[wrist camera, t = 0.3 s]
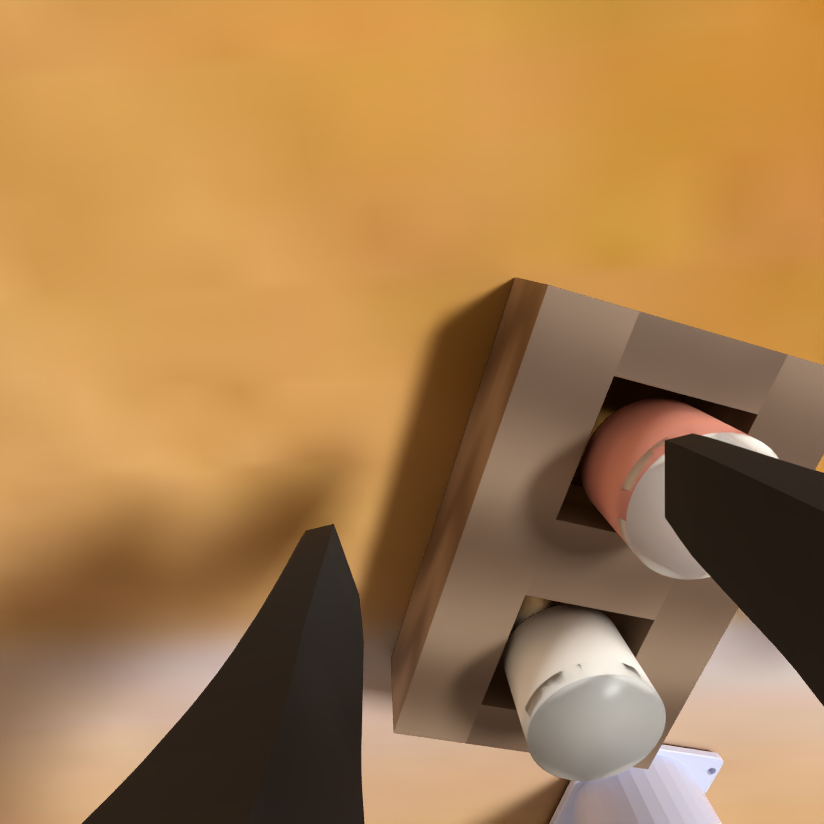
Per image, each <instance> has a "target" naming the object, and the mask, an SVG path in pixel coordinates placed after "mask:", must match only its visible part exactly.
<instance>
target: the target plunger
mask: <svg viewBox="0 0 824 824" xmlns="http://www.w3.org/2000/svg"><path fill="white" fill-rule="evenodd" d="M692 433H693V434H698V435H702V436H706V437H709V438H713V439H716V440H720V441H723V442H726V443H730V444H733V445H736V446H739V447H742V448H745V449H749V450H752V451H755V452H758V453H761V454H764V455H767V456H770V457H774V458H777V459H779V458H778V457H777V455H776V454H775V453H774V452H773V451H772V450H771V449H770V448H769V447H768V446H767V445H765V444H764V443H763V442H761V441H759V440H757V439H755V438H753V437H751V436H749V435H747V434H745V433H743V432H741V431H739V430H737V429H735V428H733V427H732V426H730V425H728V424H726V423H724V422H722V421H720V420H718V419H716V418H714V417H712V416H710V415H708V414H706V413H704V412H702V411H700V410H698V409H696V408H694V407H692V406H690V405H688V404H686V403H684V402H681V401H679V400H676V399H670V398H660V397H658V398H648V399H643V400H639V401H636V402H633V403H630V404H628V405H626V406H624V407H622V408H620V409H619V410H617V411H615V412H614V413H613V414H611V415H610V416H609V417H608V418H606V419H605V420H604V421H603V422H602V423H601V424H600V426H599V427H598V428H597V429H596V430H595V432H594V433H593V435H592V436H591V438H590V440H589V442H588V444H587V446H586V448H585V451H584V454H583V458H582V464H581V478H582V483H583V487H584V490H585V492H586V495H587V496H588V498H589V500H590V501H591V502H592V503H593V505H594V506H595V507H596V508H597V509H598V511H599V512H600V513H601V514H602V515H603V517H604V518H605V519H606V520H607V521H608V522H609V524H610V525H611V526H612V527H613V528H614V530H615V531H616V532H617V533H618V534H619V536H620V537H621V538H622V539H623V540H624V541H625V543H626V544H627V545H628V546H629V547H630V549H631V550H632V551H633V552H634V553H635V555H636V556H637V557H638V558H639V559H640V560H641V562H642V563H644V564H645V565H646V566H647V567H648V568H650V569H652V570H653V571H655V572H657V573H659V574H661V575H664V576H667V577H671V578H676V579H688V580H693V579H703V578H707V577H710V576H709V574H708V573H707V572H706V571H705V570H704V569H703V568H702V567H701V566H700V565H699V563H698V562H697V561H696V560H695V559H694V558H693V557H692V555H691V554H690V553H689V551H688V550H687V549H686V547H685V546H684V544H683V543H682V542H681V540H680V539H679V538H678V536H677V535H676V533H675V532H674V530H673V529H672V527H671V526H670V524H669V523H668V521H667V520H666V518H665V440H668V439H672V438H676V437H680V436H684V435H688V434H692Z"/></svg>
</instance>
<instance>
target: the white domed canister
mask: <svg viewBox="0 0 824 824" xmlns="http://www.w3.org/2000/svg"><path fill="white" fill-rule="evenodd" d="M503 665H504V670H505V673H506V676H507V680H508V683H509V686H510V690H511V693H512V696H513V699H514V703H515V706H516V709H517V713H518V716H519V719H520V722H521V726H522V729H523V732H524V736H525V739H526V742H527V745H528V749H529V751H530V754H531V756H532V758H533V759H534V761H535V762H536V763H537V764H538V765H539V766H540V767H541V768H542V769H543V770H545V771H546V772H548V773H550V774H552V775H554V776H556V777H559V778H563V779H567V780H573V781H592V780H599V779H604V778H608V777H611V776H614V775H617V774H619V773H622V772H624V771H626V770H628V769H630V768H631V767H633V766H634V765H636V764H638V763H639V762H640V761H641V760H643V759H644V758H645V757H646V756H647V755H648V754H649V753H650V752H651V751H652V750H653V749H654V747H655V746H656V745H657V743H658V741H659V740H660V738H661V736H662V733H663V730H664V727H665V721H666V712H665V707H664V704H663V702H662V700H661V698H660V696H659V695H658V693H657V692H656V690H655V688H654V687H653V685H652V684H651V682H650V680H649V679H648V677H647V676H646V674H645V673H644V671H643V669H642V668H641V666H640V665H639V663H638V661H637V660H636V658H635V657H634V655H633V654H632V652H631V650H630V649H629V647H628V646H627V644H626V642H625V641H624V639H623V638H622V636H621V634H620V633H619V631H618V630H617V628H616V627H615V625H614V624H613V622H612V621H611V620H610V619H609V618H608V617H607V616H606V615H605V614H603V613H602V612H600V611H598V610H596V609H594V608H589V607H584V606H579V605H573V604H567V605H559V606H554V607H550V608H547V609H544V610H542V611H539V612H537V613H535V614H534V615H532V616H530V617H529V618H527V619H526V620H525V621H523V622H522V623H521V624H520V625H519V626H518V627H517V628H516V629H515V630H514V632H513V633H512V635H511V636H510V638H509V639H508V641H507V644H506V646H505V649H504V655H503Z"/></svg>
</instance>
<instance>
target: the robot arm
mask: <svg viewBox="0 0 824 824" xmlns="http://www.w3.org/2000/svg"><path fill="white" fill-rule="evenodd" d="M665 518H666V520H667V521H668V523H669V524H670V526H671V527H672V529H673V530H674V532H675V533H676V535H677V536H678V538H679V539H680V540H681V542H682V543H683V544H684V546H685V547H686V549H687V550H688V551H689V553H690V554H691V555H692V557H693V558H694V559H695V560H696V561H697V562H698V563H699V565H700V566H701V567H702V568H703V569H704V570H705V571H706V572H707V573H708V574H709V576H710V577H711V578H712V579H713V580H714V581H715V582H716V583H717V584H718V585H719V586H720V588H721V589H722V590H723V591H724V592H725V593H726V594H727V595H728V596H729V597H730V598H731V599H732V600H733V602H734V603H735V604H736V605H737V606H738V607H739V608H740V609H741V610H742V611H743V612H744V613H745V614H746V615H747V617H748V618H749V619H750V620H751V621H752V622H753V623H754V624H755V625H756V626H757V627H758V628H759V629H760V630H761V632H762V633H763V634H764V635H765V636H766V637H767V638H768V639H769V640H770V641H771V642H772V643H773V644H774V645H775V647H776V648H777V649H778V650H779V651H780V652H781V654H782V655H783V656H784V657H785V658H786V659H787V660H788V662H789V663H790V664H791V665H792V666H793V667H794V669H795V670H796V671H797V672H798V674H799V675H800V676H801V678H802V679H803V680H804V681H805V683H806V684H807V685H808V687H809V688H810V689H811V690H812V692H813V693H814V694H815V696H816V697H817V698H818V699H819V701H820V702H821V703H822V705H823V706H824V473H822V472H819V471H815V470H812V469H809V468H806V467H802V466H799V465H796V464H793V463H789V462H786V461H783V460H780V459H777V458H774V457H770V456H767V455H764V454H761V453H758V452H755V451H752V450H749V449H745V448H742V447H739V446H736V445H733V444H730V443H726V442H723V441H720V440H716V439H713V438H709V437H706V436H702V435H698V434H693V433H692V434H688V435H684V436H680V437H676V438H672V439H668V440H665ZM363 642H364V641H363V629H362V618H361V609H360V599H359V593H358V591H357V588H356V585H355V582H354V579H353V577H352V574H351V571H350V568H349V565H348V563H347V560H346V557H345V554H344V551H343V548H342V546H341V543H340V540H339V537H338V534H337V532H336V529H335V526H334V524H331V525H327V526H323V527H319V528H315V529H312V530H308V531H305V533H304V534H303V536H302V538H301V539H300V541H299V543H298V545H297V546H296V548H295V550H294V552H293V554H292V556H291V557H290V559H289V561H288V563H287V565H286V566H285V568H284V570H283V572H282V574H281V575H280V577H279V579H278V581H277V582H276V584H275V586H274V587H273V589H272V591H271V592H270V594H269V596H268V598H267V599H266V601H265V603H264V604H263V606H262V608H261V609H260V611H259V613H258V614H257V616H256V617H255V619H254V620H253V622H252V623H251V625H250V626H249V628H248V629H247V631H246V632H245V634H244V636H243V637H242V639H241V640H240V642H239V643H238V645H237V646H236V648H235V649H234V651H233V652H232V654H231V655H230V656H229V658H228V659H227V661H226V662H225V663H224V665H223V666H222V668H221V669H220V670H219V672H218V673H217V674H216V676H215V677H214V678H213V679H212V681H211V682H210V683H209V684H208V686H207V687H206V688H205V690H204V691H203V692H202V693H201V695H200V696H199V697H198V698H197V700H196V701H195V702H194V703H193V705H192V706H191V707H190V708H189V709H188V711H187V712H186V713H185V714H184V715H183V716H182V718H181V719H180V720H179V721H178V722H177V723H176V724H175V725H174V727H173V728H172V729H171V730H170V731H169V732H168V733H167V735H166V736H165V737H164V738H163V739H162V740H161V741H160V742H159V744H158V745H157V746H156V747H155V748H154V749H153V750H152V752H151V753H150V754H149V755H148V756H147V757H146V758H145V759H144V761H143V762H142V763H141V764H140V765H139V766H138V767H137V768H136V769H135V770H134V771H133V772H132V773H131V774H130V775H129V776H128V777H127V779H126V780H125V781H124V782H123V783H122V784H121V785H120V786H119V787H118V788H117V789H116V790H115V791H114V792H113V793H112V794H111V795H110V796H109V797H108V798H107V799H106V800H105V801H104V802H103V803H102V804H101V805H100V806H99V807H98V808H97V809H96V810H95V811H94V812H93V813H92V814H91V815H90V816H89V817H88V818H87V819H86V820H85V821H84V822H83V823H82V824H364V811H363V796H362V777H361V739H362V696H363ZM722 765H723V760H722V758H721V757H720V755H719V754H718V753H715V752H709V751H702V750H696V749H689V748H682V747H676V746H669V745H663V744H662V745H661V747H660V749H659V751H658V752H657V754H656V756H655V758H654V760H653V761H652V763H651V765H650V767H649V769H642V768H635V767H631V768H630V769H628V770H626V771H624V772H622V773H619V774H617V775H614V776H611V777H608V778H604V779H599V780H592V781H573V780H571V781H570V783H569V785H568V787H567V789H566V791H565V793H564V795H563V797H562V799H561V801H560V803H559V805H558V807H557V809H556V811H555V813H554V815H553V817H552V819H551V821H550V823H549V824H722V823H721V821H720V819H719V818H718V816H717V814H716V813H715V811H714V809H713V808H712V806H711V804H710V803H709V801H708V799H707V798H706V796H705V793H706V791H707V790H708V788H709V787H710V785H711V783H712V782H713V780H714V778H715V777H716V775H717V774H718V772H719V770H720V769H721V767H722Z"/></svg>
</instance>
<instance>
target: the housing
mask: <svg viewBox="0 0 824 824" xmlns="http://www.w3.org/2000/svg"><path fill="white" fill-rule="evenodd" d="M614 376H616V377H620V378H624V379H628V380H631V381H635V382H639V383H643V384H646V385H650V386H654V387H657V388H661V389H665V390H669V391H672V392H676V393H680V394H683V395H685V397H684V400H683V402H684V403H686V404H688V405H690V406H692V407H694V408H696V409H698V410H700V411H702V412H704V413H706V414H708V415H710V416H712V417H714V418H716V419H718V420H720V421H722V422H724V423H726V424H728V425H730V426H732V427H733V428H735V429H737V430H739V431H741V432H743V433H745V434H747V435H749V436H751V437H753V438H755V439H757V440H759V441H761V442H763V443H764V444H765V445H767V446H768V447H769V448H770V449H771V450H772V451H773V452H774V453H775V454H776V455H777V457H778V458H779V459H780V460H783V461H786V462H789V463H793V464H796V465H799V466H802V467H806V468H809V469H812V470H815V469H816V467H817V465H818V463H819V462H820V460H821V458H822V456H823V454H824V365H821V364H818V363H814V362H811V361H807V360H804V359H801V358H797V357H794V356H790V355H787V354H783V353H780V352H777V351H773V350H770V349H766V348H763V347H760V346H756V345H753V344H749V343H746V342H742V341H739V340H736V339H732V338H729V337H725V336H722V335H718V334H715V333H712V332H708V331H705V330H701V329H698V328H694V327H691V326H688V325H684V324H681V323H677V322H674V321H670V320H667V319H664V318H660V317H657V316H653V315H650V314H646V313H643V312H640V311H636V310H633V309H629V308H626V307H622V306H619V305H616V304H612V303H609V302H605V301H602V300H598V299H595V298H592V297H588V296H585V295H581V294H578V293H574V292H571V291H568V290H564V289H561V288H557V287H554V286H550V285H547V284H542V283H538V282H533V281H529V280H524V279H520V278H515V279H514V282H513V285H512V288H511V291H510V294H509V297H508V300H507V303H506V306H505V309H504V312H503V315H502V319H501V322H500V325H499V328H498V331H497V334H496V337H495V340H494V343H493V346H492V349H491V352H490V355H489V359H488V362H487V365H486V368H485V371H484V374H483V377H482V380H481V383H480V386H479V389H478V392H477V396H476V399H475V402H474V405H473V408H472V411H471V414H470V417H469V420H468V423H467V426H466V429H465V432H464V436H463V439H462V442H461V445H460V448H459V451H458V454H457V457H456V460H455V463H454V466H453V469H452V472H451V476H450V479H449V482H448V485H447V488H446V491H445V494H444V497H443V500H442V503H441V506H440V509H439V513H438V516H437V519H436V522H435V525H434V528H433V531H432V534H431V537H430V540H429V543H428V546H427V549H426V553H425V556H424V559H423V562H422V565H421V568H420V571H419V574H418V577H417V580H416V583H415V586H414V589H413V593H412V596H411V599H410V602H409V605H408V608H407V611H406V614H405V617H404V620H403V623H402V626H401V630H400V633H399V636H398V639H397V642H396V645H395V648H394V651H393V654H392V657H391V674H392V701H393V729H394V733H397V734H404V735H411V736H418V737H425V738H432V739H439V740H446V741H453V742H460V743H467V744H474V745H481V746H488V747H495V748H502V749H509V750H516V751H523V752H530V751H529V749H528V745H527V742H526V739H525V736H524V732H523V729H522V726H521V722H520V719H519V716H518V713H517V709H516V706H515V703H514V699H513V696H512V693H511V690H510V686H509V683H508V680H507V676H506V673H505V670H504V665H503V655H504V649H505V646H506V644H507V639H508V637H509V634H510V632H511V630H512V627H513V625H514V622H515V620H516V617H517V615H518V612H519V610H520V607H521V605H522V602H523V600H524V597H525V595H527V596H532V597H537V598H542V599H547V600H553V601H558V602H563V603H568V604H573V605H579V606H584V607H589V608H594V609H596V610H598V611H600V612H602V613H603V614H605V615H606V616H607V617H608V618H609V619H610V620H611V621H612V622H613V624H614V625H615V627H616V628H617V630H618V631H619V633H620V634H621V636H622V638H623V639H624V641H625V642H626V644H627V646H628V647H629V649H630V650H631V652H632V654H633V655H634V657H635V658H636V660H637V661H638V663H639V665H640V666H641V668H642V669H643V671H644V673H645V674H646V676H647V677H648V679H649V680H650V682H651V684H652V685H653V687H654V688H655V690H656V692H657V693H658V695H659V696H660V698H661V700H662V702H663V704H664V707H665V712H666V721H665V727H664V730H663V733H662V736H661V738H660V740H659V741H658V743H657V745H656V746H655V747H654V749H653V750H652V751H651V752H650V753H649V754H648V755H647V756H646V757H645V758H644V759H643V760H641V761H640V762H639V763H638V764H636V765H634V766H633V767H635V768H642V769H649V767H650V765H651V763H652V761H653V760H654V758H655V756H656V754H657V752H658V751H659V749H660V747H661V745H662V743H663V742H664V740H665V738H666V736H667V735H668V733H669V731H670V729H671V727H672V726H673V724H674V722H675V720H676V718H677V717H678V715H679V713H680V711H681V709H682V708H683V706H684V704H685V702H686V700H687V699H688V697H689V695H690V693H691V691H692V690H693V688H694V686H695V684H696V682H697V681H698V679H699V677H700V675H701V673H702V672H703V670H704V668H705V666H706V664H707V663H708V661H709V659H710V657H711V655H712V654H713V652H714V650H715V648H716V647H717V645H718V643H719V641H720V639H721V638H722V636H723V634H724V632H725V630H726V629H727V627H728V625H729V623H730V621H731V620H732V618H733V616H734V614H735V612H736V611H737V609H738V606H737V605H736V604H735V603H734V602H733V600H732V599H731V598H730V597H729V596H728V595H727V594H726V593H725V592H724V591H723V590H722V589H721V588H720V586H719V585H718V584H717V583H716V582H715V581H714V580H713V579H712V578H711V577H707V578H703V579H693V580H688V579H676V578H671V577H667V576H664V575H661V574H659V573H657V572H655V571H653V570H652V569H650V568H648V567H647V566H646V565H645V564H644V563H642V562H641V560H640V559H639V558H638V557H637V556H636V555H635V553H634V552H633V551H632V550H631V549H630V547H629V546H628V545H627V544H626V543H625V541H624V540H623V539H622V538H621V537H620V536H619V534H618V533H617V532H616V531H615V530H614V528H613V527H612V526H611V525H610V524H609V522H608V521H607V520H606V519H605V518H604V517H603V515H602V514H601V513H600V512H599V511H598V509H597V508H596V507H595V506H594V505H593V503H592V502H591V501H590V500H589V498H588V496H587V495H586V492H585V490H584V487H583V486H580V485H575V484H571V481H572V478H573V476H574V474H575V471H576V469H577V466H578V464H579V461H580V459H581V456H582V454H583V451H584V449H585V446H586V444H587V441H588V439H589V436H590V434H591V431H592V429H593V426H594V424H595V422H596V419H597V417H598V414H599V412H600V409H601V407H602V404H603V402H604V399H605V397H606V394H607V392H608V389H609V387H610V384H611V382H612V379H613V377H614Z"/></svg>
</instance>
